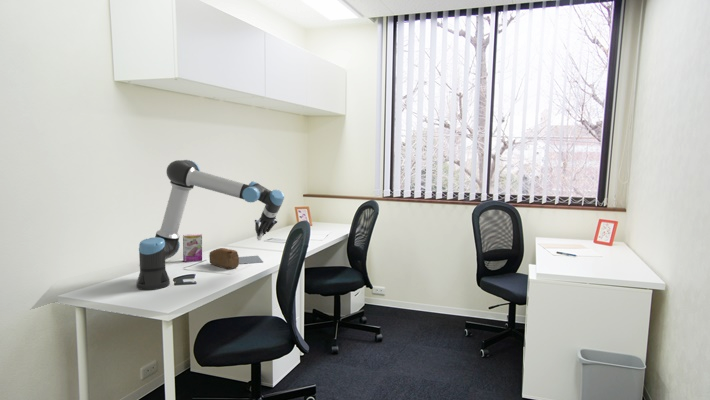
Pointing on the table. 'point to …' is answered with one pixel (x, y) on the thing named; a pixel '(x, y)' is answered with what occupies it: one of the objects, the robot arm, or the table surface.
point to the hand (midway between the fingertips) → (258, 238)
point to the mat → (250, 259)
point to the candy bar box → (192, 247)
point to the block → (224, 258)
